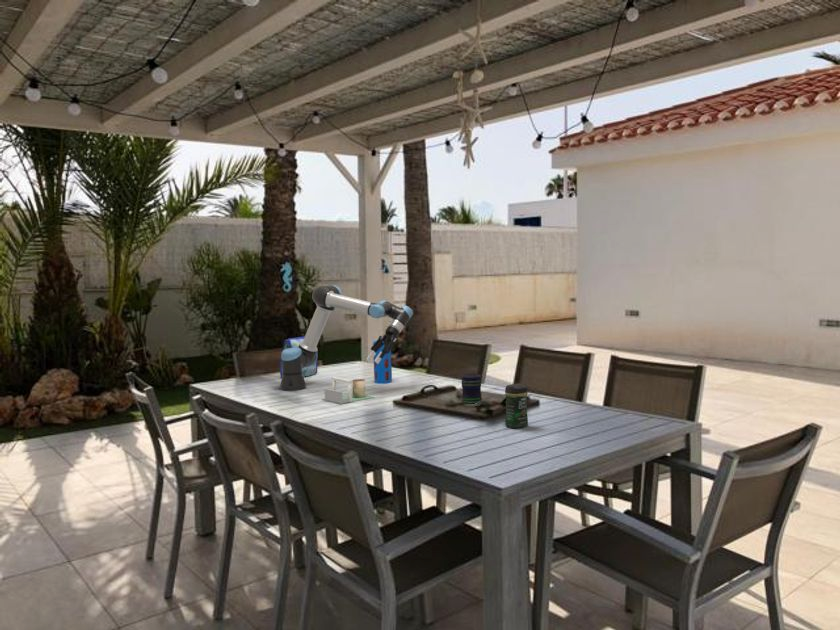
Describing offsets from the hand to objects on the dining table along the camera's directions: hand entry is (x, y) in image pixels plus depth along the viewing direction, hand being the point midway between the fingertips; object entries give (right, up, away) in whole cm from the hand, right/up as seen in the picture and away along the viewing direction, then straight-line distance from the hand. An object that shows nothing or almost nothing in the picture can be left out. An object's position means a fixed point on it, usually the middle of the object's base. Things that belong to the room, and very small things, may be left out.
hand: (372, 361), depth 370 cm
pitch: (-12, -19, -7) cm, 24 cm away
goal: (-17, -20, -14) cm, 29 cm away
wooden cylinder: (-7, -19, -5) cm, 20 cm away
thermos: (+4, -16, +41) cm, 44 cm away
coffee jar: (+68, -23, -79) cm, 107 cm away
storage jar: (+52, -20, -33) cm, 65 cm away
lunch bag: (-52, -15, +71) cm, 89 cm away
